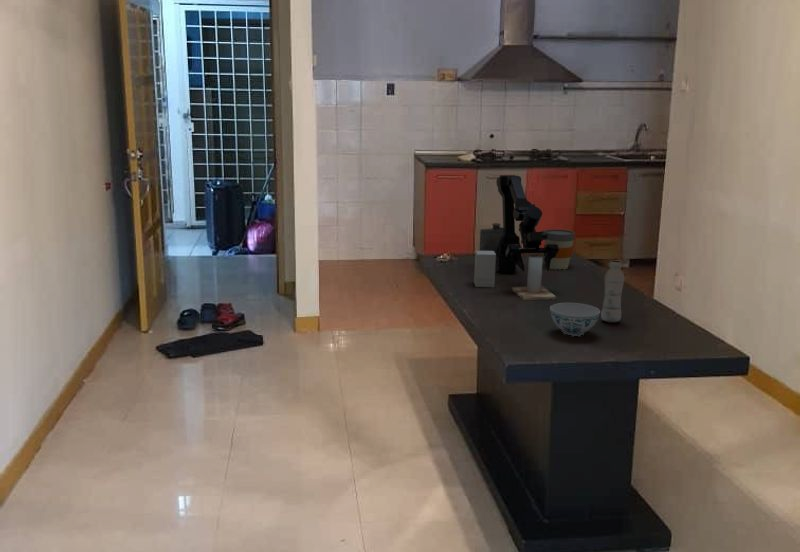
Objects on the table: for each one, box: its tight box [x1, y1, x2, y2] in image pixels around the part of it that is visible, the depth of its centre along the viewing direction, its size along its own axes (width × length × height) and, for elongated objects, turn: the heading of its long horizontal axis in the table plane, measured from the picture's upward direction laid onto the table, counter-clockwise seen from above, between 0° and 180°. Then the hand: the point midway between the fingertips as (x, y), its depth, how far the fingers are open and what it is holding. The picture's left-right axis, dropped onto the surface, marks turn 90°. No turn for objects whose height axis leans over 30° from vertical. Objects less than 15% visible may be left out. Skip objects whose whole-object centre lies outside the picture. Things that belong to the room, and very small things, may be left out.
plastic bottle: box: [600, 259, 626, 323], centre depth 252 cm, size 6×7×20 cm
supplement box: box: [473, 250, 496, 288], centre depth 297 cm, size 7×7×13 cm
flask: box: [478, 222, 503, 267], centre depth 327 cm, size 4×14×18 cm, turn 106°
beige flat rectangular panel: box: [511, 285, 557, 301], centre depth 286 cm, size 15×12×1 cm
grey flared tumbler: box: [526, 254, 544, 293], centre depth 284 cm, size 5×5×13 cm
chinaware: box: [549, 302, 601, 337], centre depth 241 cm, size 15×15×8 cm
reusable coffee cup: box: [543, 228, 575, 271], centre depth 327 cm, size 13×13×15 cm
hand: (536, 270), depth 282 cm, fingers open, 9 cm apart
